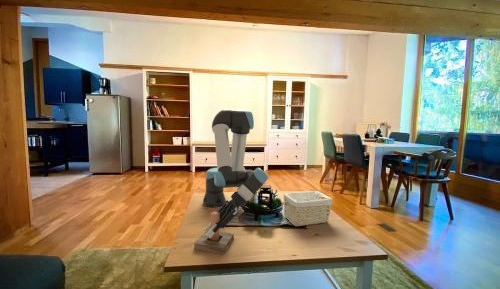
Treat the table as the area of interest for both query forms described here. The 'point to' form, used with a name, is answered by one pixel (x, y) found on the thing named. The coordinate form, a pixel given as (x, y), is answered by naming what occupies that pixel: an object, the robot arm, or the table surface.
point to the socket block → (214, 243)
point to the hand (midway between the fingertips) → (206, 234)
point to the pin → (214, 219)
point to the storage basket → (307, 207)
